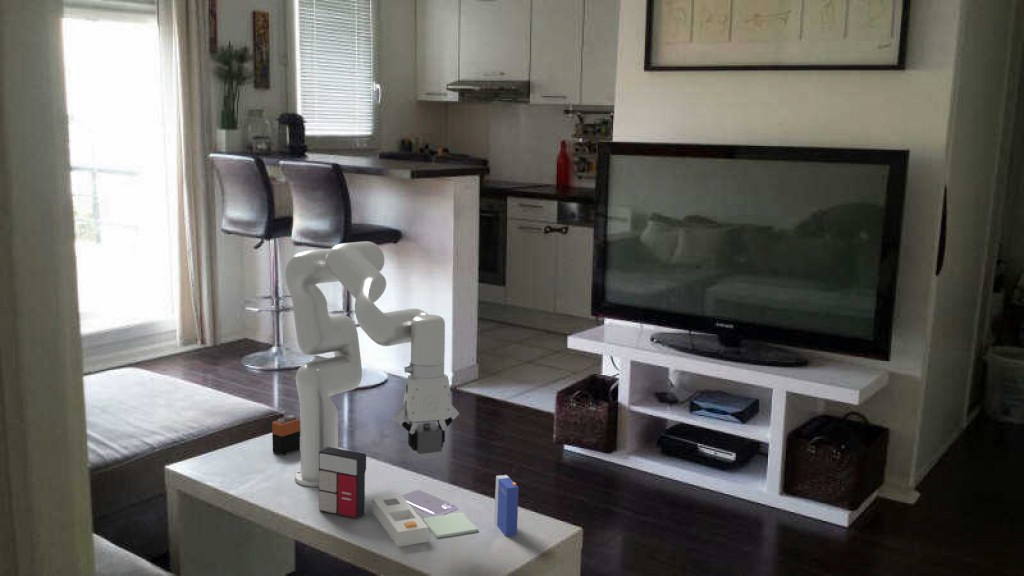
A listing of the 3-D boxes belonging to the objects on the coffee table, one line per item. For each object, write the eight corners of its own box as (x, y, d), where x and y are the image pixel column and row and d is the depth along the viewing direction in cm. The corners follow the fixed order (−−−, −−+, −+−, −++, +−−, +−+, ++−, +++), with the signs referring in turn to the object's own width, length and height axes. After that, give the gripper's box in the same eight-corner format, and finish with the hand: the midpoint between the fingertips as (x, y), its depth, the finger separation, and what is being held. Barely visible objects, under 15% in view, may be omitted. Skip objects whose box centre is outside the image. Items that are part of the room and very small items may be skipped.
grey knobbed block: (411, 452, 209) (411, 421, 208) (433, 449, 211) (434, 418, 210) (418, 460, 204) (418, 428, 203) (441, 457, 206) (442, 425, 205)
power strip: (372, 511, 219) (372, 495, 218) (400, 507, 222) (400, 491, 221) (397, 546, 201) (398, 529, 200) (427, 541, 204) (428, 524, 203)
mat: (422, 520, 215) (422, 518, 215) (461, 514, 219) (461, 512, 219) (436, 538, 206) (437, 535, 206) (477, 531, 210) (477, 528, 210)
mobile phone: (418, 488, 232) (459, 505, 223) (418, 491, 233) (459, 509, 223) (395, 496, 227) (436, 514, 217) (395, 500, 227) (436, 518, 217)
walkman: (517, 535, 209) (518, 485, 207) (505, 536, 208) (507, 486, 206) (505, 521, 216) (506, 473, 214) (494, 522, 215) (495, 474, 213)
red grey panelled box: (316, 511, 218) (316, 452, 215) (326, 505, 222) (326, 446, 219) (356, 520, 214) (357, 459, 211) (366, 513, 218) (366, 453, 215)
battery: (301, 449, 259) (300, 415, 257) (282, 456, 253) (281, 421, 251) (290, 446, 261) (290, 412, 259) (271, 452, 256) (271, 418, 254)
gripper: (395, 377, 198) (394, 457, 201) (469, 371, 204) (467, 448, 207) (385, 368, 204) (385, 446, 208) (457, 363, 211) (456, 438, 214)
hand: (426, 446), depth 207 cm, fingers closed on grey knobbed block, 5 cm apart
